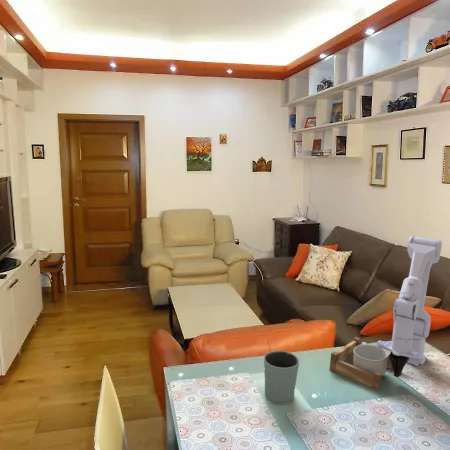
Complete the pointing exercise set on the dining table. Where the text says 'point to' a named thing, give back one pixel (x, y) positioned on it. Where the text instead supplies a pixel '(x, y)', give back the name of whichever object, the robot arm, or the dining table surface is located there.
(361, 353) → the teacup
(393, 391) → the dining table surface
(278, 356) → the grey tumbler
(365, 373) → the wooden frame
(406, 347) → the robot arm
